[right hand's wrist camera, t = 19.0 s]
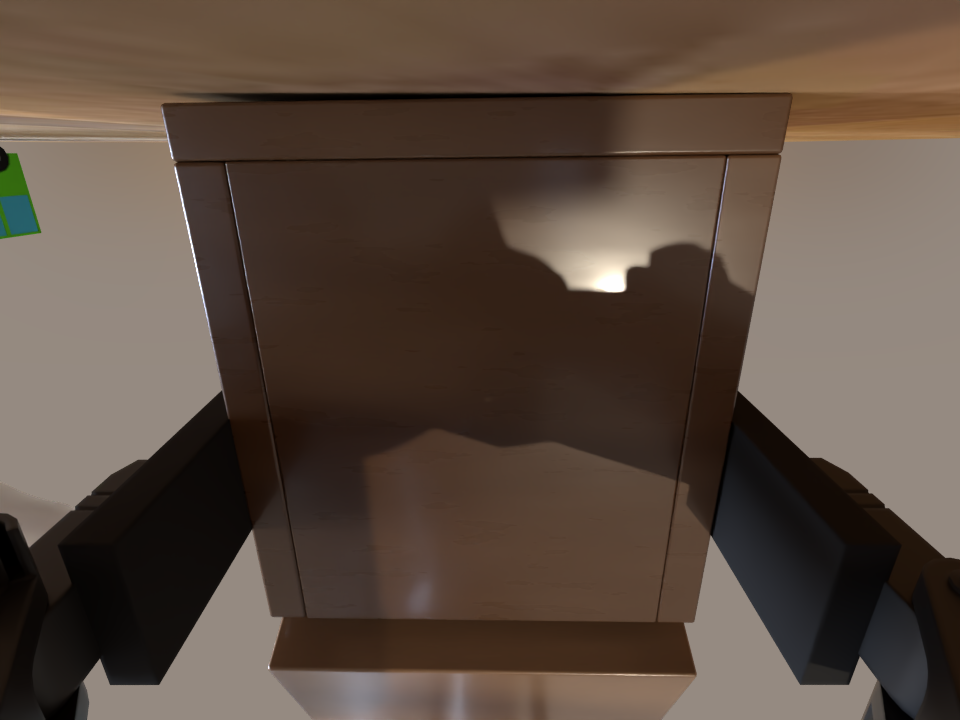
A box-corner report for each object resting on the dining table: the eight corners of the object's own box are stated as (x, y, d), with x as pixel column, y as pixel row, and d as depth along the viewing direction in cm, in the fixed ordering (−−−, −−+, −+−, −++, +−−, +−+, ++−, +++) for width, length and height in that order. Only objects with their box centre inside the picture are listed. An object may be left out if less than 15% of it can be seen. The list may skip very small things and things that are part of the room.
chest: (595, 130, 24) (581, 354, 28) (379, 133, 24) (396, 354, 28) (795, 92, 8) (695, 623, 12) (158, 103, 8) (269, 618, 12)
